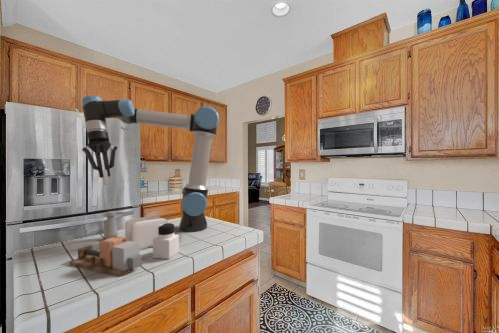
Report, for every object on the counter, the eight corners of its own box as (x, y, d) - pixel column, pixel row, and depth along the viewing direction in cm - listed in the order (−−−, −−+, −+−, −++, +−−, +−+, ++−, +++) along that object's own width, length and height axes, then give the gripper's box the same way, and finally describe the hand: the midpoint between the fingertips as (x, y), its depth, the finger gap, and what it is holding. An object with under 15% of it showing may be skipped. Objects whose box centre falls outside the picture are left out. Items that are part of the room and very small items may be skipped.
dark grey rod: (81, 254, 78) (81, 249, 78) (86, 252, 80) (86, 247, 80) (118, 262, 72) (118, 256, 72) (123, 259, 74) (123, 254, 74)
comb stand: (70, 264, 75) (70, 251, 75) (96, 254, 83) (96, 243, 83) (119, 276, 67) (119, 262, 67) (142, 264, 75) (142, 251, 75)
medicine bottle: (179, 252, 86) (179, 222, 86) (169, 259, 79) (168, 227, 79) (164, 250, 87) (163, 221, 87) (152, 257, 80) (152, 226, 80)
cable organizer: (130, 252, 85) (130, 224, 85) (124, 245, 93) (124, 219, 93) (167, 243, 95) (167, 218, 95) (160, 237, 103) (159, 214, 103)
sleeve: (99, 264, 72) (99, 241, 72) (116, 257, 78) (115, 236, 78) (110, 266, 70) (109, 243, 70) (126, 259, 76) (126, 237, 76)
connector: (112, 268, 70) (112, 246, 70) (128, 260, 76) (128, 240, 76) (129, 271, 67) (129, 249, 67) (144, 263, 73) (144, 243, 73)
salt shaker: (100, 239, 101) (100, 212, 101) (112, 235, 106) (112, 210, 106) (109, 241, 99) (109, 213, 99) (120, 237, 104) (120, 210, 104)
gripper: (112, 134, 101) (120, 183, 100) (77, 134, 91) (86, 188, 91) (116, 129, 96) (125, 181, 95) (80, 129, 86) (89, 186, 86)
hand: (106, 184), depth 93 cm, fingers closed
